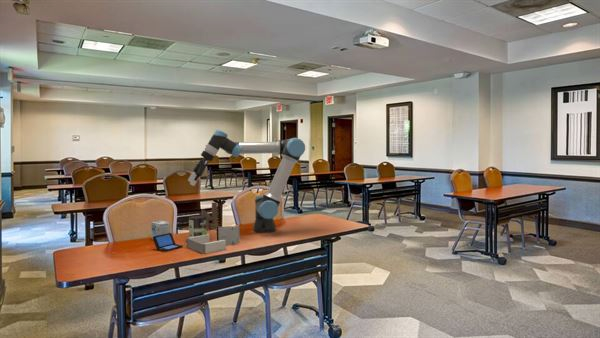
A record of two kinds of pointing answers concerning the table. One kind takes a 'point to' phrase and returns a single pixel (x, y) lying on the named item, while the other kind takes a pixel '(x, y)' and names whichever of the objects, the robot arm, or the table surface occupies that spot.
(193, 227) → the grey-green tall box
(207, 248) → the mortise bay
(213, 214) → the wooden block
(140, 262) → the table surface
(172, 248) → the handheld game console
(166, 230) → the light bulb box
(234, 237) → the gray rectangular block
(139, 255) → the table surface
